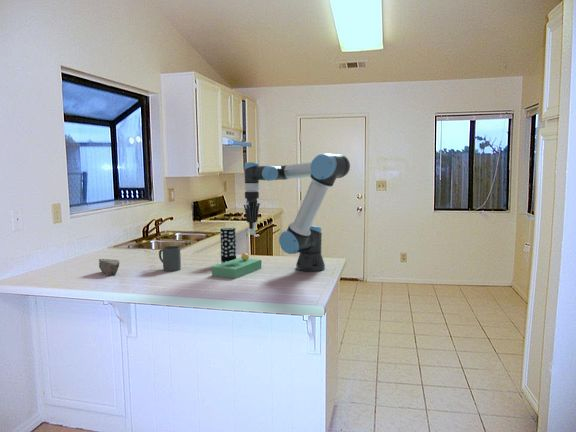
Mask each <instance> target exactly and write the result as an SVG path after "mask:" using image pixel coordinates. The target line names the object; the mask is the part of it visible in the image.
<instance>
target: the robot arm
mask: <svg viewBox="0 0 576 432" xmlns="http://www.w3.org/2000/svg"><path fill="white" fill-rule="evenodd" d="M350 169H351V163H350V160H349V159H348V157H346V156H345V155H343V154H341V153H326V152H325V153H321V154H318V155H316V156H315V157H314V158H313V159H312V160H311V162H302V163H293V164H285V165H259V162H256V161H255V162H254V161H251V162H249V161H248V162H245V163H244V173H243V174H244V191H245V192H244V198H245V199H246V204H244V205H243V207H244V212H245V219H246V223H248V225H249V226H248V230H249V235H250V236H251V235H252V236H256V223H257V222H258V219H259V218H258V217H259V212H260V211H259V209H260V205H261V204H260V202H258V199H260V193H259V190H260V187H259V186H260V185H259V184H260V183H259V182H260V181H268V182H270V181H277V180H278V181H280V180H281V181H283V180H292V179H302V178H304V179H305V178H310V179H311V182H310V184H309V186H308V189H307V191H306V193H305V196H304V198H303V200H302V202H301V204H300V207H299V210H298V212H297V213H296V216H295V219H294V221H293V222H290V223H289V225H288V226H287V228H286V229H287V230H284V231H283V232H282V233H280V235H279V237H278V238H279V239H278V241H279V242H278V243H279V245H280V248H281V250H282V251H283V252H284V253H286V254H288V255H292V254H293V255H294V254H298V253H299V254H298V258H297V260H296V265H295V266H296V267H295V268H296V269H297V271H301V272H318V271H319V272H320V271H324V270H325V268H326V264H325V261H324V258H323V255H322V234H323V232H322V228H321V226H318V225H313V223H314V221H315V218H316V216H317V213H318V211H319V210H320V209H319V208H320V207H321V205H322V203H323V200H324V198H325V195H326V194H327V191H328V190H329V188H332V187H333V186H334V184H335V182H336V180H337V179H342V178H344V177H345V176H347V175H348V173H349V172H350Z"/></svg>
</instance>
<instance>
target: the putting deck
mask: <svg viewBox="0 0 576 432" xmlns="http://www.w3.org/2000/svg"><path fill="white" fill-rule="evenodd" d="M260 269H262V259H257V258H256V259H255V258H248V260H246V261H244V260H242V258H241V257H236V259H234V260H231V261H228V262H225V263H222V264H221V263H218V264H216V265H213V266H211V276H212V277H218V276H219V277H220V278H226V277H227V278H228V279H235V278H236V279H238V278H241V277H244V276H246V275H249V274H251V273H252V272H255V271H258V270H260ZM245 274H246V275H245ZM240 276H241V277H240Z"/></svg>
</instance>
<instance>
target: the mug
mask: <svg viewBox="0 0 576 432" xmlns="http://www.w3.org/2000/svg"><path fill="white" fill-rule="evenodd" d="M158 257H159V260H160V262H161V263H162V268H163V269H162V270H163V271H164V272H177V271H180V270H181V267H182V265H181V264H182V263H181V262H182V259H181V247H180V246H178V245H170V246H169V245H167V246H163V247H162V249H159V251H158Z"/></svg>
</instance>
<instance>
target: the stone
mask: <svg viewBox="0 0 576 432" xmlns="http://www.w3.org/2000/svg"><path fill="white" fill-rule="evenodd" d="M98 262H99V263H98V268H99V270H100V271H101V273H104V274H105V276H107V277H111V276H116V274H117V273H118V269H119V267H120V260H119V259H111V258H110V259H107V258H106V259H105V258H102V259H101V258H99V259H98Z"/></svg>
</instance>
